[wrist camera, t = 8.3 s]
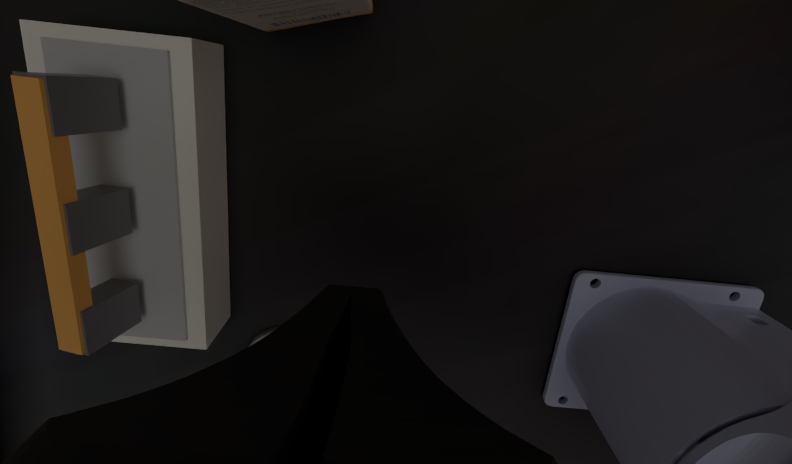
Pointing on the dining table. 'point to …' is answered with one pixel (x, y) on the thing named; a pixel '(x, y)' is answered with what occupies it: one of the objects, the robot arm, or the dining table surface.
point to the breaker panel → (155, 171)
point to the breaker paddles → (75, 204)
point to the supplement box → (284, 11)
